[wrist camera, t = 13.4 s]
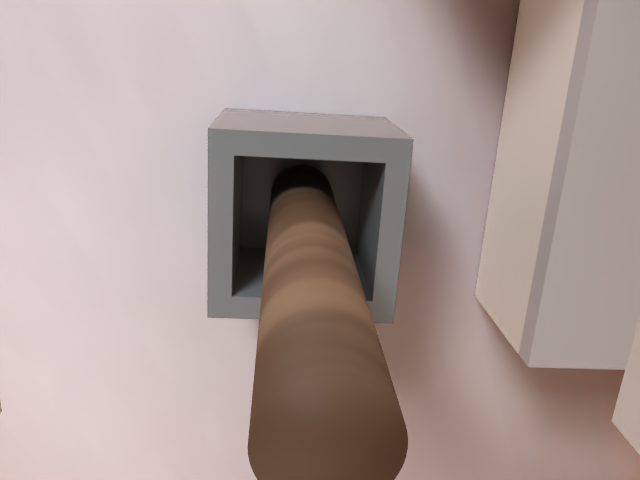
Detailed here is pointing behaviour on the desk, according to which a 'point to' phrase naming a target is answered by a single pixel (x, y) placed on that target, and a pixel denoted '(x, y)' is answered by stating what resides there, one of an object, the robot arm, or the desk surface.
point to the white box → (568, 188)
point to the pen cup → (347, 186)
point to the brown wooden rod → (318, 350)
